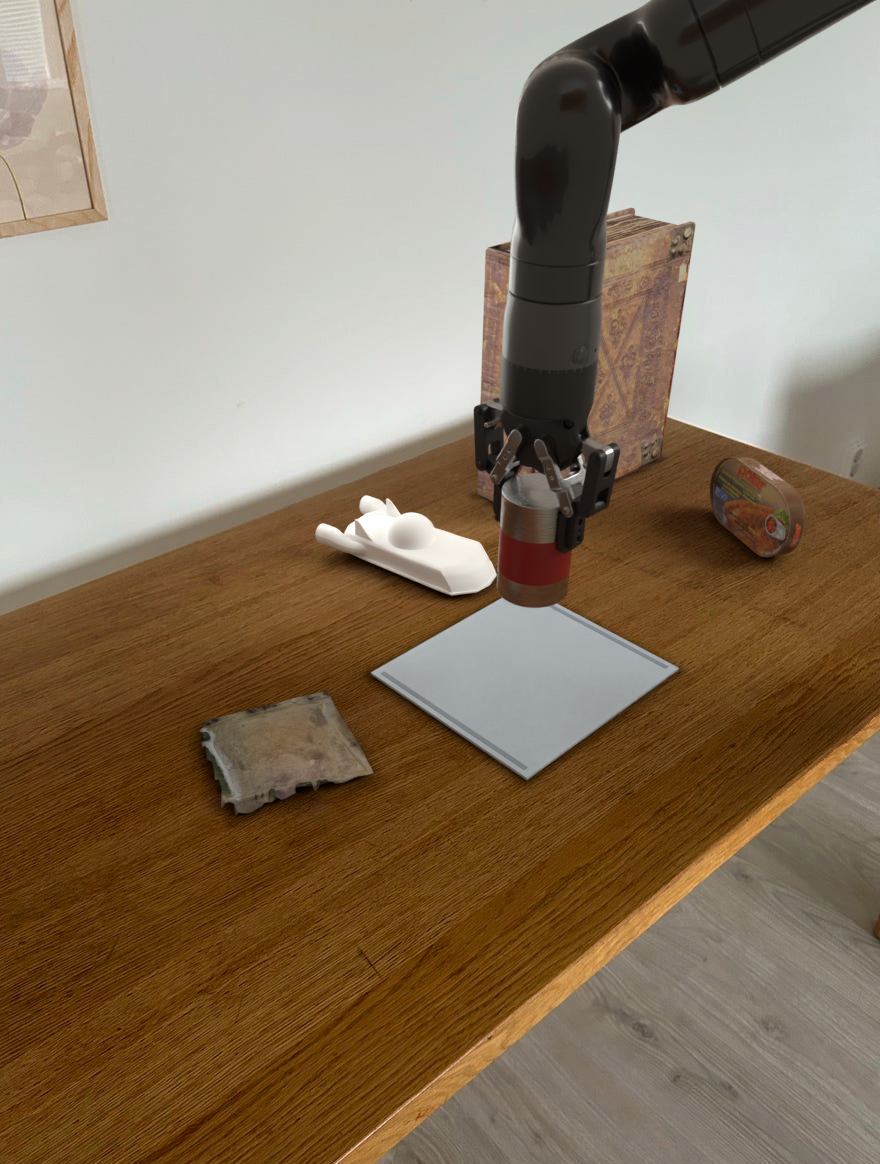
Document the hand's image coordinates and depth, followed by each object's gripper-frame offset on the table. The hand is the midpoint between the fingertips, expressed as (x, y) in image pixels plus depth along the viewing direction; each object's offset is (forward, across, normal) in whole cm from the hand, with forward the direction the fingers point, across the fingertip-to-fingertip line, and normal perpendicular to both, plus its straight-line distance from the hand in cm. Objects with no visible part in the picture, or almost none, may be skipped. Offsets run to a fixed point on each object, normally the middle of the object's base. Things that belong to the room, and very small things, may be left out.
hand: (535, 533), depth 89 cm
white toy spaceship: (+16, +22, -6) cm, 28 cm away
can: (+6, 0, 0) cm, 6 cm away
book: (+16, +23, -35) cm, 45 cm away
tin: (+16, -1, -38) cm, 41 cm away
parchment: (+15, +7, +24) cm, 29 cm away
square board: (+15, 0, 0) cm, 15 cm away
